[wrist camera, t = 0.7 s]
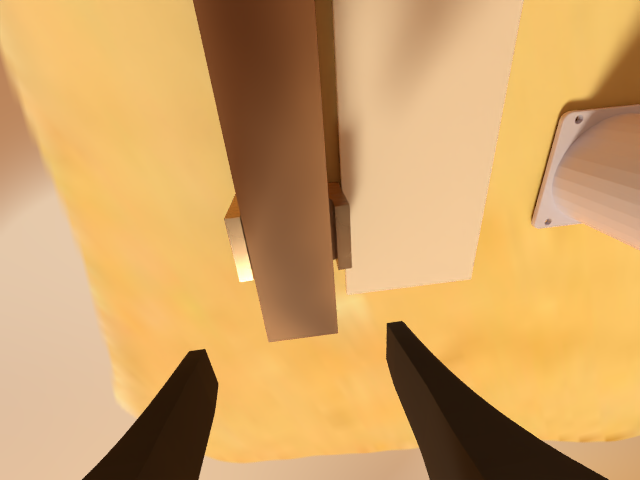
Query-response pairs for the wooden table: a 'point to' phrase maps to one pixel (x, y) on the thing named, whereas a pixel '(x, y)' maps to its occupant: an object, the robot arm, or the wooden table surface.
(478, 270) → the wooden table surface
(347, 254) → the post
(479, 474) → the robot arm
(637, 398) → the wooden table surface
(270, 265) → the rail
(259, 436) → the wooden table surface
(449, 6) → the felt pad
